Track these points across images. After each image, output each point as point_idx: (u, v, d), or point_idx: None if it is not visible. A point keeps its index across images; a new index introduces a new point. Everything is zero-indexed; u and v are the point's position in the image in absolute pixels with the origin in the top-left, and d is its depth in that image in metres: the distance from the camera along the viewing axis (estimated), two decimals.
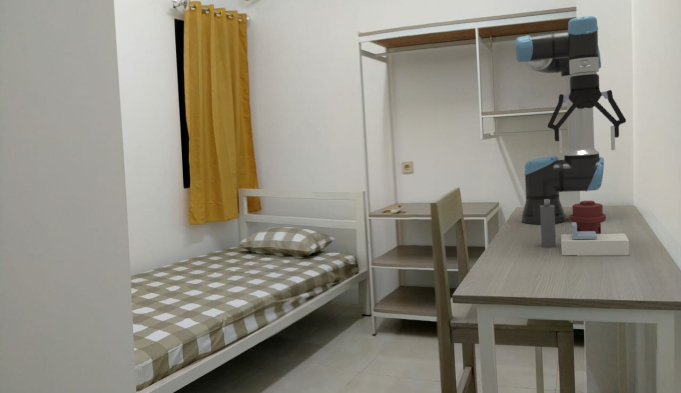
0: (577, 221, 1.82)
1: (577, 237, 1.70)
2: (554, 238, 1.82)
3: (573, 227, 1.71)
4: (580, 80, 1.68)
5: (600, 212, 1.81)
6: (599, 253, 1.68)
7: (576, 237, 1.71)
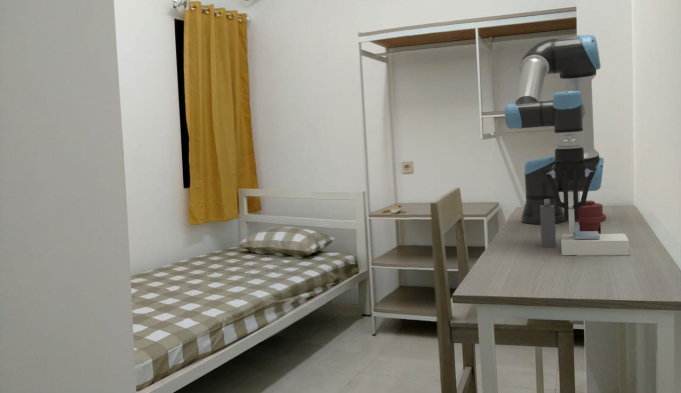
0: (577, 221, 1.82)
1: (580, 237, 1.70)
2: (554, 238, 1.82)
3: (576, 227, 1.71)
4: (564, 154, 1.69)
5: (600, 212, 1.81)
6: (599, 253, 1.68)
7: (579, 237, 1.70)
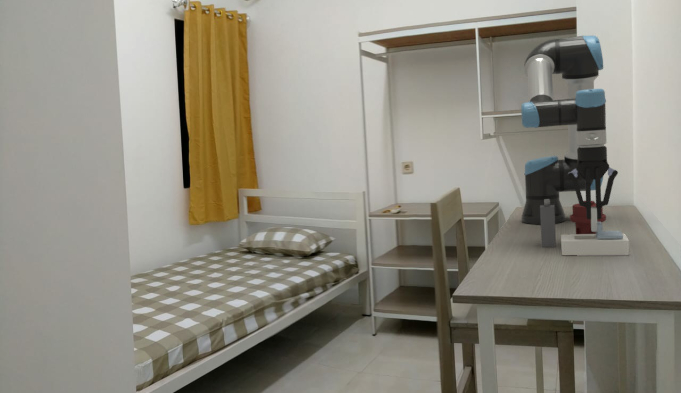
0: (577, 221, 1.82)
1: (603, 237, 1.68)
2: (554, 238, 1.82)
3: (598, 227, 1.69)
4: (587, 152, 1.67)
5: None
6: (599, 253, 1.68)
7: (602, 237, 1.68)
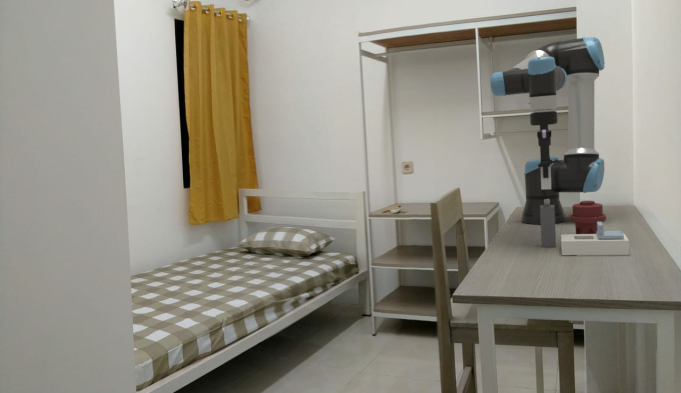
0: (577, 221, 1.82)
1: (603, 237, 1.68)
2: (554, 238, 1.82)
3: (599, 227, 1.69)
4: None
5: (600, 212, 1.81)
6: (599, 253, 1.68)
7: (602, 237, 1.68)
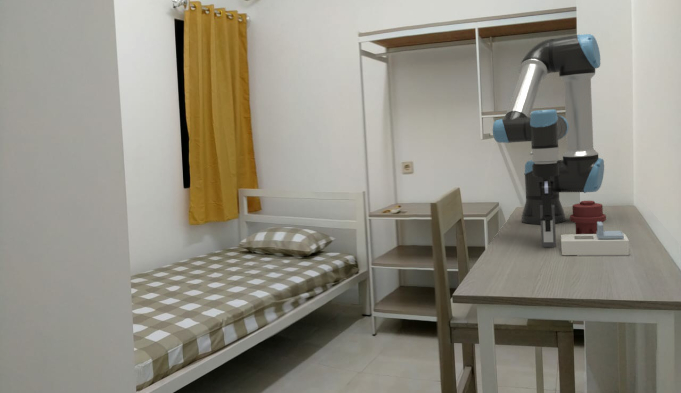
0: (577, 221, 1.82)
1: (603, 237, 1.68)
2: (554, 238, 1.82)
3: (599, 227, 1.69)
4: None
5: (600, 212, 1.81)
6: (599, 253, 1.68)
7: (602, 237, 1.68)
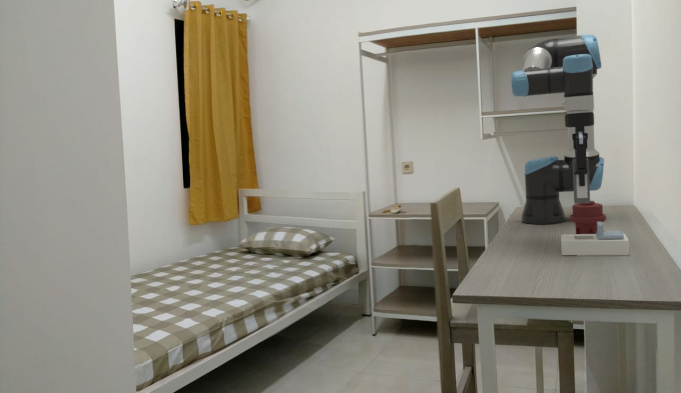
0: (577, 221, 1.82)
1: (603, 237, 1.68)
2: (588, 193, 1.69)
3: (599, 227, 1.69)
4: None
5: (600, 212, 1.81)
6: (599, 253, 1.68)
7: (602, 237, 1.68)
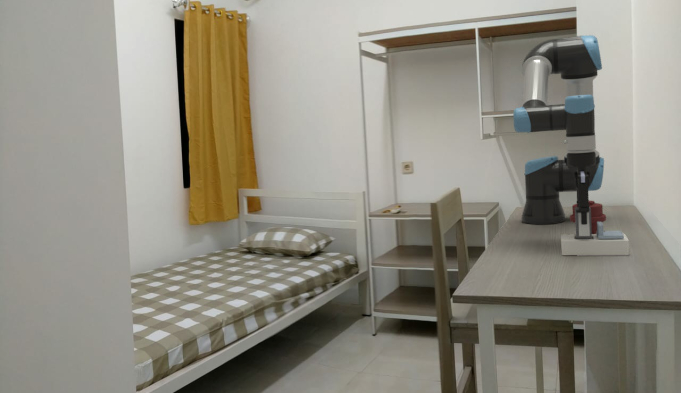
0: None
1: (603, 237, 1.68)
2: None
3: (599, 227, 1.69)
4: None
5: (600, 212, 1.81)
6: (599, 253, 1.68)
7: (602, 237, 1.68)
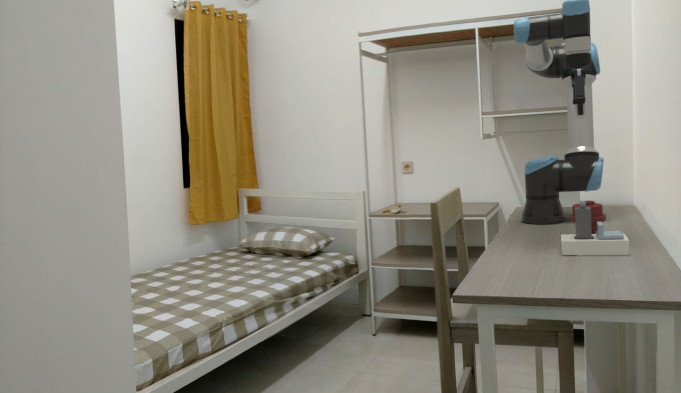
0: None
1: (603, 237, 1.68)
2: None
3: (599, 227, 1.69)
4: None
5: (600, 212, 1.81)
6: (599, 253, 1.68)
7: (602, 237, 1.68)
